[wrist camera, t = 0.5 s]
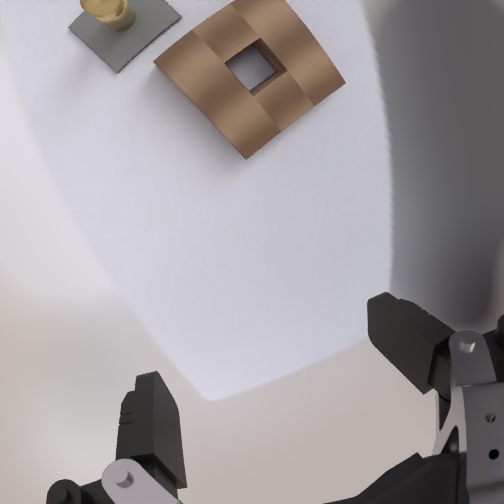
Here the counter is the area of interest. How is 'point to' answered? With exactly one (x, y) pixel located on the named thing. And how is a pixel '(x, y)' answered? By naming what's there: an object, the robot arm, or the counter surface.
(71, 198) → the counter surface
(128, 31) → the rubber mat
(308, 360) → the counter surface
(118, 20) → the brass pin
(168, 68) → the walnut block
